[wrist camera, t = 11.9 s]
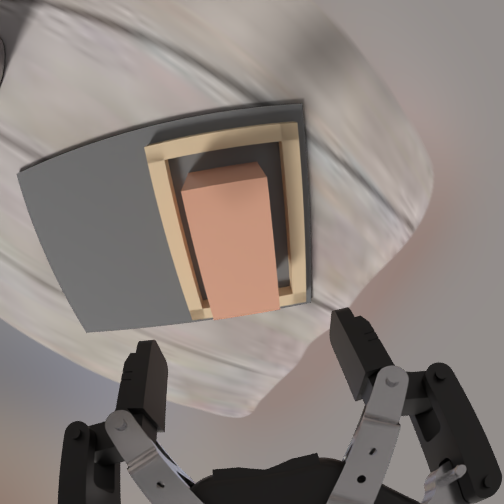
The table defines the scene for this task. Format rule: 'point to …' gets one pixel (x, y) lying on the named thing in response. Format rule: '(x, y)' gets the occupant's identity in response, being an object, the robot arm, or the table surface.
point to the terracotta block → (233, 238)
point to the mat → (163, 214)
